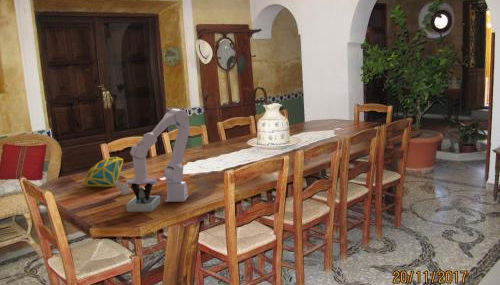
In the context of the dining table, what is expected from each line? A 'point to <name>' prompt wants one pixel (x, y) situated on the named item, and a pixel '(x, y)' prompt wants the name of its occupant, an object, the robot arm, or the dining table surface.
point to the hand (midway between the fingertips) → (143, 199)
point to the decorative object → (104, 173)
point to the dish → (143, 205)
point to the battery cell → (142, 196)
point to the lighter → (123, 188)
